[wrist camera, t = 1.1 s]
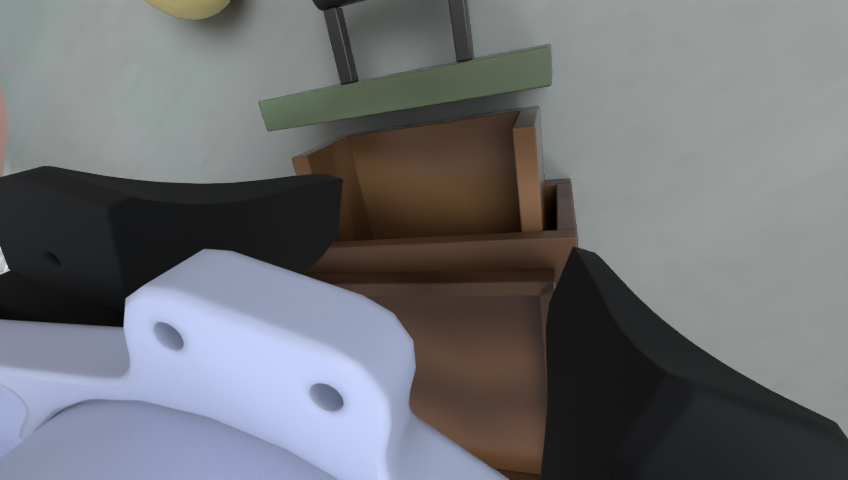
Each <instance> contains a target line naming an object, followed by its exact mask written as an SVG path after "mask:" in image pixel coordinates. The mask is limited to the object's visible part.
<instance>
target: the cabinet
mask: <svg viewBox="0 0 848 480" xmlns="http://www.w3.org/2000/svg"><path fill="white" fill-rule="evenodd" d="M545 195H546V210H547V225H548V231H536V232H517V233H497V234H478V235H459V236H439V237H420V238H401V239H382V240H362V241H343V242H333V243H332V245H331V246H330V247H329V249H328V250H327V251H326V253H325V254H324V255H323V256H322V258H321V259H320V260H319V261H318V262H317V263H316V264H315V265H314V266H313V267H311V268H310V269H309V270H308V271H307V272H306V273H305V274H328V273H371V272H414V271H457V270H500V269H543V268H554V269H555V270H556V285H557V283H558V281H559V278H560V276H561V274H562V271H563V269H564V267H565V264H566V262H567V259H568V257H569V255H570V252H571V250H572V248H573V247H577V248H578V235H577V227H576V219H575V210H574V202H573V194H572V185H571V179H559V180H548V181H545ZM365 297H367V298H368V299H370V300H372V301H374V302H375V303H377V304H379V305H380V306H382V307H384V308H385V309H387V310H389V311H391V312H392V313H394V314H395V316H396V317H397V319H398V320H399V321H400V323H401V324H402V325H403V327H404V328H405V330H406V331H407V332H408V334H409V335H410V337H411V338H412V339H413V343H414V353H415V363H416V369H415V373H414V377H413V381H412V385H411V389H410V396H409V406H410V409H411V411H412V412H413V414H414V415H415V416H417V417H418V418H420V419H421V420H423V421H424V422H426V423H427V424H429V425H430V426H432V427H433V428H435V429H436V430H438V431H439V432H441V433H442V434H443V435H445V436H446V437H448V438H449V439H451V440H452V441H454V442H455V443H457V444H458V445H460V446H461V447H463V448H464V449H466V450H467V451H469V452H470V453H471V454H473V455H474V456H476V457H477V458H479V459H480V460H482V461H483V462H485V463H486V464H488V465H489V466H491V467H492V468H494V469H498V470H506V471H513V472H521V473H528V474H535V475H541V465H542V456H543V447H544V438H545V426H546V415H547V390H546V378H545V365H544V353H543V341H542V328H541V316H540V304H539V295H509V296H365Z"/></svg>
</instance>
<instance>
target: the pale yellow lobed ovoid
mask: <svg viewBox="0 0 848 480" xmlns="http://www.w3.org/2000/svg"><path fill="white" fill-rule="evenodd" d="M144 1H146V2H147V3H148V4H150V5H151V6H152V7H154V8H156V9H158V10H160V11H162V12H163V13H165V14H168V15H171V16H174V17H177V18H182V19H190V20H198V19H204V18H208V17H211V16H213V15H215V14H217V13H219V12H220V11H222V10H223V9H224V8H225V7H226V6H227V5H228V4H229V2H230V1H231V0H144Z"/></svg>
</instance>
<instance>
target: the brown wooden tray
mask: <svg viewBox="0 0 848 480" xmlns="http://www.w3.org/2000/svg"><path fill="white" fill-rule="evenodd" d="M304 276H307V277H310V278H313V279H316V280H319V281H322V282H325V283H328V284H331V285H334V286H337V287H340V288H343V289H346V290H349V291H352V292H355V293H358V294H361V295H363V296H509V295H539V304H540V316H541V328H542V341H543V353H544V365H545V378H546V390H547V363H546V323H547V315H548V308H549V302H550V300H551V297H552V295H553V293H554V290H555V288H556V270H555V269H554V268H543V269H500V270H457V271H414V272H371V273H328V274H304ZM495 470H497V471H498V472H500V473H501V474H502V475H504V476H505V477H507V478H508V479H510V480H540V475H535V474H528V473H521V472H513V471H506V470H498V469H495Z"/></svg>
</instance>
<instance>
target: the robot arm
mask: <svg viewBox="0 0 848 480" xmlns="http://www.w3.org/2000/svg"><path fill="white" fill-rule="evenodd" d="M342 186H343V179H341V178H338V177H334V176H331V175H327V174H307V175H298V176H290V177H283V178H275V179H267V180H257V181H247V182H237V183H214V184H192V183H168V182H153V181H142V180H133V179H125V178H116V177H109V176H103V175H97V174H91V173H85V172H80V171H74V170H68V169H63V168H58V167H51V166H43V167H38V168H35V169H31V170H27V171H23V172H19V173H15V174H11V175H7V176H3V177H0V247H1V249H2V252H3V255H4V257H5V260H6V263H7V265H8V268H9V269H10V271H8V272H6V273H3V274H1V275H0V480H510V479H508V478H507V477H505V476H504V475H502V474H501V473H500V472H498V471H497V470H495V469H494V468H492V467H491V466H489V465H488V464H486V463H485V462H483V461H482V460H480V459H479V458H477V457H476V456H474V455H473V454H471V453H470V452H469V451H467V450H466V449H464V448H463V447H461V446H460V445H458V444H457V443H455V442H454V441H452V440H451V439H449V438H448V437H446V436H445V435H443V434H442V433H441V432H439V431H438V430H436V429H435V428H433V427H432V426H430V425H429V424H427V423H426V422H424V421H423V420H421V419H420V418H418V417H417V416H415V415H414V414H413V412H412V411H411V409H410V406H409V396H410V389H411V385H412V381H413V377H414V373H415V369H416V363H415V353H414V343H413V339H412V338H411V337H410V335H409V334H408V332H407V331H406V330H405V328H404V327H403V325H402V324H401V323H400V321H399V320H398V319H397V317H396V316H395V314H394V313H392V312H391V311H389V310H387V309H385V308H384V307H382V306H380V305H379V304H377V303H375V302H374V301H372V300H370V299H368V298H367V297H365V296H363V295H361V294H358V293H355V292H352V291H349V290H346V289H343V288H340V287H337V286H334V285H331V284H328V283H325V282H322V281H319V280H316V279H313V278H310V277H307V276H304V274H305V273H306V272H307V271H308V270H309V269H310V268H311V267H313V266H314V265H315V264H316V263H317V262H318V261H319V260H320V259H321V258H322V256H323V255H324V254H325V253H326V251H327V250H328V249H329V247H330V246H331V245H332V243H333V242H334V240H335V239H336V237H337V236H338V228H339V217H340V207H341V196H342ZM546 363H547V415H546V426H545V438H544V447H543V456H542V465H541V475H540V480H848V438H847V437H846V435H845V434H844V433H843V431H842V430H841V428H840V427H839V426H838V424H837V423H836V422H834V421H832V420H830V419H828V418H826V417H824V416H822V415H820V414H818V413H816V412H814V411H811V410H809V409H807V408H805V407H803V406H801V405H799V404H797V403H795V402H793V401H791V400H789V399H787V398H785V397H783V396H781V395H779V394H777V393H775V392H773V391H771V390H769V389H767V388H766V387H764V386H762V385H760V384H758V383H757V382H755V381H753V380H751V379H749V378H748V377H746V376H744V375H742V374H741V373H739V372H737V371H736V370H734V369H732V368H731V367H729V366H727V365H726V364H724V363H722V362H721V361H719V360H718V359H716V358H715V357H713V356H712V355H710V354H709V353H707V352H706V351H704V350H703V349H701V348H700V347H698V346H697V345H695V344H694V343H692V342H691V341H689V340H688V339H687V338H685V337H684V336H683V335H681V334H680V333H679V332H678V331H676V330H675V329H674V328H672V327H671V326H670V325H669V324H667V323H666V322H665V321H664V320H662V319H661V318H660V317H659V316H658V315H657V314H655V313H654V312H653V311H652V310H651V309H650V308H649V307H648V306H647V305H646V304H645V303H644V302H642V301H641V300H640V299H639V298H638V297H637V296H636V295H635V294H634V293H633V292H632V291H631V290H630V289H629V288H628V287H627V285H626V284H625V283H624V282H623V281H622V280H621V279H620V278H619V277H618V276H617V275H616V274H615V273H614V271H613V270H612V269H611V268H610V267H609V266H608V265H607V264H606V263H605V262H604V261H603V260H602V259H601V258H600V257H599V256H598V255H597V254H596V253H594V252H591V251H587V250H584V249H580V248H577V247H573V248H572V250H571V252H570V255H569V257H568V259H567V262H566V264H565V267H564V269H563V271H562V274H561V276H560V278H559V281H558V283H557V285H556V288H555V290H554V293H553V295H552V297H551V300H550V302H549V308H548V315H547V323H546Z"/></svg>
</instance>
